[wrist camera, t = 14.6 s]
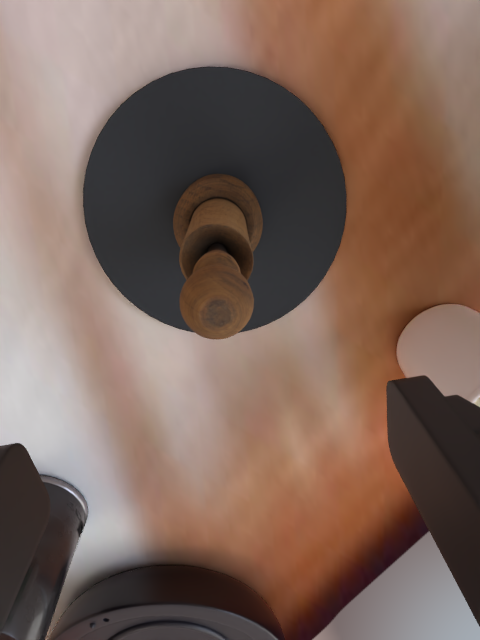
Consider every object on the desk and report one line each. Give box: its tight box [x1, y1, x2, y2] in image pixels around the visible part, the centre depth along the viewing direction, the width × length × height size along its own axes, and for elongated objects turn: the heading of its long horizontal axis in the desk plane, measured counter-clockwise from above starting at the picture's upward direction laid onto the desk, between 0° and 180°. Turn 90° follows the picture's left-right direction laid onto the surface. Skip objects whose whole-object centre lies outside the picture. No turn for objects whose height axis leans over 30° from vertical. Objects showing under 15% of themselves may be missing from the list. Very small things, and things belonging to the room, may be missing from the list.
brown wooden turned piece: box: [173, 174, 263, 339], centre depth 24 cm, size 7×6×18 cm
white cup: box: [396, 304, 480, 407], centre depth 33 cm, size 10×10×12 cm
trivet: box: [83, 67, 346, 333], centre depth 33 cm, size 20×20×1 cm
